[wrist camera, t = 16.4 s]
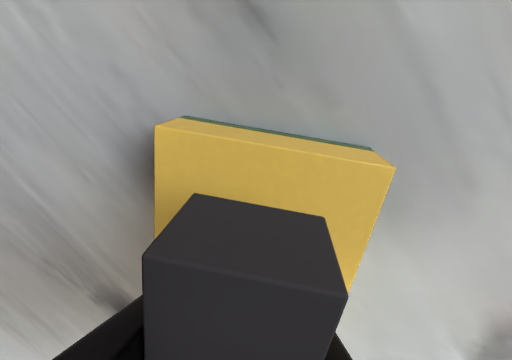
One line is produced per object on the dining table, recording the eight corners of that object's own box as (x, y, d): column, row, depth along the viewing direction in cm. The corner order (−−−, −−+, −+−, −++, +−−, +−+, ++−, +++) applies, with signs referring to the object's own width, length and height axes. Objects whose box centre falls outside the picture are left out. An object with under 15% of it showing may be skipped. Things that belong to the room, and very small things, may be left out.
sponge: (302, 350, 19) (306, 403, 16) (175, 323, 19) (154, 369, 16) (370, 147, 13) (397, 167, 10) (184, 115, 13) (153, 125, 10)
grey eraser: (286, 347, 9) (288, 457, 7) (184, 325, 10) (144, 424, 7) (325, 216, 7) (350, 296, 5) (193, 191, 7) (139, 255, 5)
